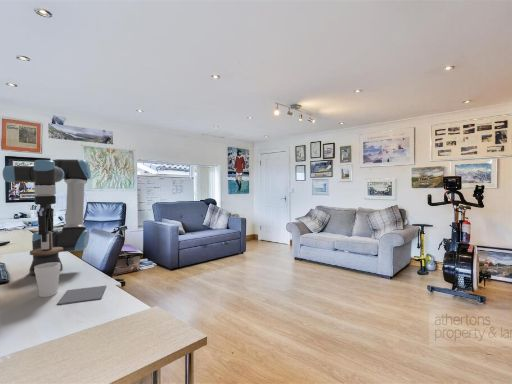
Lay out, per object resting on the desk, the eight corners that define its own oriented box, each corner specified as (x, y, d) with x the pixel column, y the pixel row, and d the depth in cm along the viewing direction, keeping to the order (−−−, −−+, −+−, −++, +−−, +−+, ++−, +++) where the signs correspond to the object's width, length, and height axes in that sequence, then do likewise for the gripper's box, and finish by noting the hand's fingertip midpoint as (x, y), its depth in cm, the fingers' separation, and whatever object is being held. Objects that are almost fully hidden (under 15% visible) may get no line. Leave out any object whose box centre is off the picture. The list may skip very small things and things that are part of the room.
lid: (35, 250, 130) (34, 230, 130) (66, 248, 135) (65, 229, 134) (25, 256, 119) (24, 234, 119) (59, 253, 123) (58, 233, 123)
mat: (67, 291, 131) (67, 290, 131) (106, 286, 137) (106, 285, 137) (56, 305, 116) (56, 303, 116) (101, 299, 122) (101, 298, 122)
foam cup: (47, 299, 122) (46, 268, 122) (29, 297, 124) (28, 267, 123) (66, 290, 131) (65, 262, 131) (49, 289, 133) (48, 261, 133)
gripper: (41, 194, 133) (43, 245, 133) (27, 196, 117) (29, 253, 118) (60, 194, 135) (62, 243, 136) (49, 195, 120) (50, 251, 120)
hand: (46, 248), depth 127 cm, fingers closed on lid, 3 cm apart
